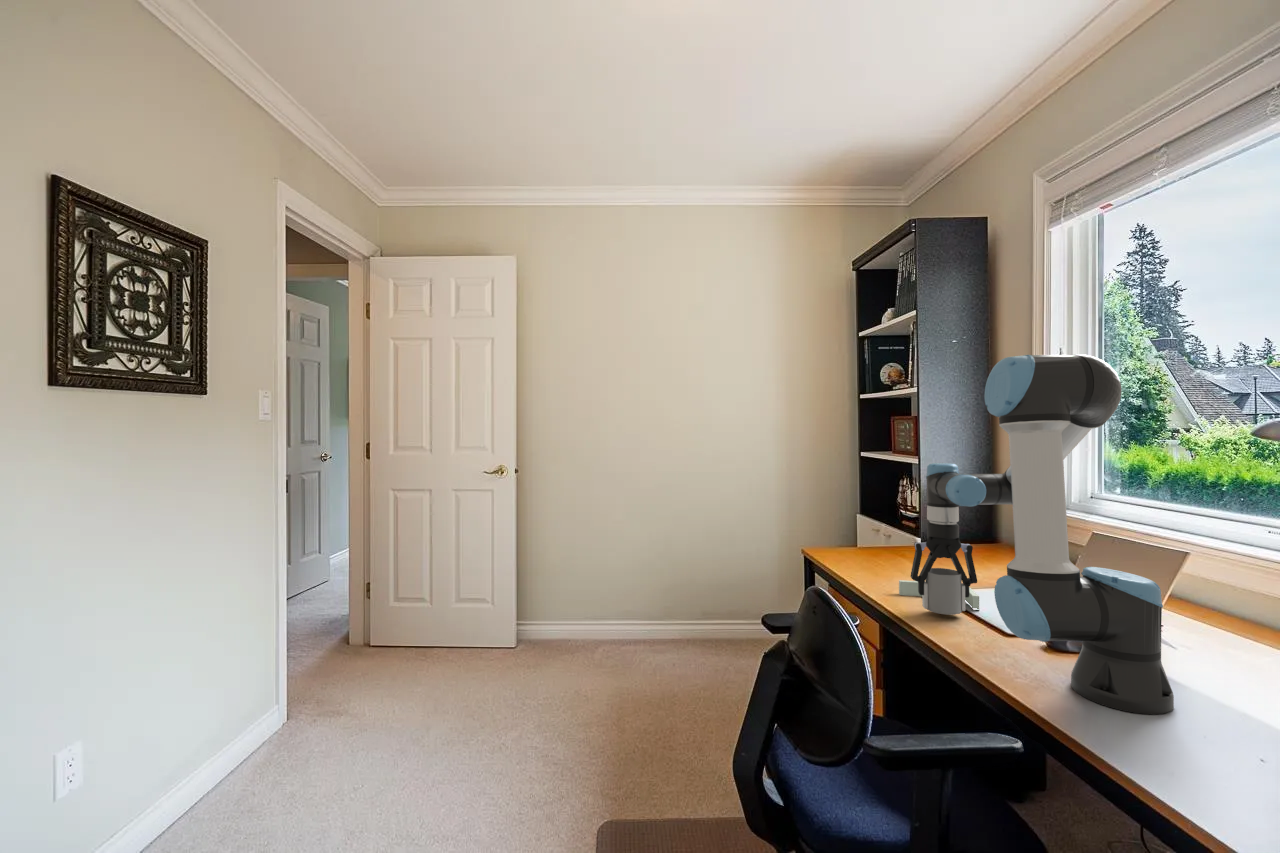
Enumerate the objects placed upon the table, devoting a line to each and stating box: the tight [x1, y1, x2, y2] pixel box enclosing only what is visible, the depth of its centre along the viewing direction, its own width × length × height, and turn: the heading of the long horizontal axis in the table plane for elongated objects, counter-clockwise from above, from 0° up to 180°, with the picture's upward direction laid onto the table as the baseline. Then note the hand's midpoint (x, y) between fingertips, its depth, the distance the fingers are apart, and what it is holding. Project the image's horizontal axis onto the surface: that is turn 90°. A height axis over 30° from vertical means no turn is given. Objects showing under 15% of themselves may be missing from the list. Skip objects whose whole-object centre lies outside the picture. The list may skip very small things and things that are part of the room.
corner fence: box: [898, 579, 980, 610], centre depth 171 cm, size 12×18×4 cm
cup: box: [925, 567, 963, 616], centre depth 159 cm, size 8×8×10 cm
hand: (943, 608), depth 159 cm, fingers closed on cup, 8 cm apart
